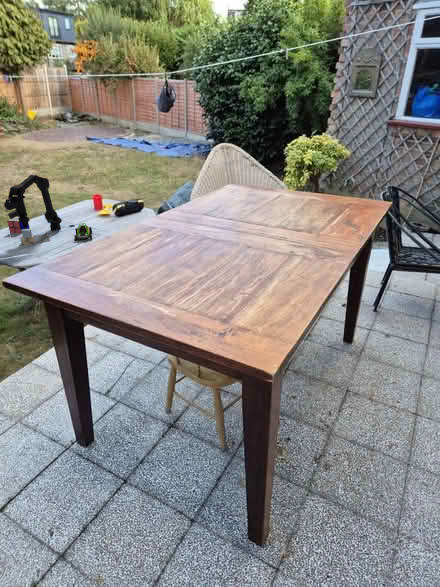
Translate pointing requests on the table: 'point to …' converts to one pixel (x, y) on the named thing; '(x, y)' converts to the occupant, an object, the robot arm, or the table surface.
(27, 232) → the block
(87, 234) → the motor vehicle
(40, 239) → the board
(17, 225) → the puzzle cube
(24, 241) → the block
